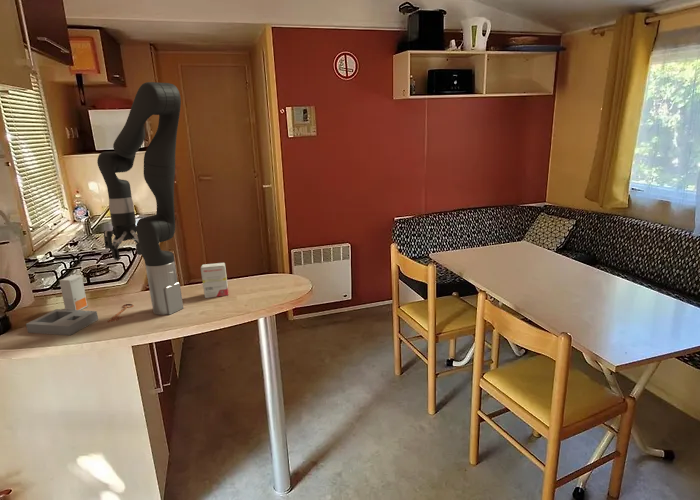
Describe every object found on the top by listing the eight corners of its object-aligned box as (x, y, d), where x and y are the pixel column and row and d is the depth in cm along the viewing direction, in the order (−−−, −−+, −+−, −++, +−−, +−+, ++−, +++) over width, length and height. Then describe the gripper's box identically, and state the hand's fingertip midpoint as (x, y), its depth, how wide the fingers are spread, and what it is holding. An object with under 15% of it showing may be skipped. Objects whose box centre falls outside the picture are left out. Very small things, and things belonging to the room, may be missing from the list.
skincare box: (76, 312, 162) (69, 280, 159) (65, 312, 163) (58, 280, 160) (88, 306, 168) (82, 274, 165) (78, 305, 169) (71, 274, 166)
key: (120, 323, 153) (140, 306, 168) (120, 321, 153) (140, 303, 167) (102, 323, 153) (124, 305, 168) (102, 320, 153) (124, 302, 167)
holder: (98, 319, 155) (96, 311, 155) (70, 335, 144) (68, 326, 143) (58, 317, 159) (56, 309, 158) (28, 332, 148) (25, 323, 147)
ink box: (228, 291, 177) (225, 261, 174) (228, 295, 172) (224, 265, 169) (205, 293, 175) (201, 263, 172) (204, 298, 171) (200, 267, 167)
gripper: (108, 214, 150) (115, 262, 154) (147, 208, 162) (153, 253, 166) (95, 213, 154) (103, 260, 158) (134, 207, 166) (140, 251, 170)
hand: (128, 257), depth 162 cm, fingers open, 8 cm apart
